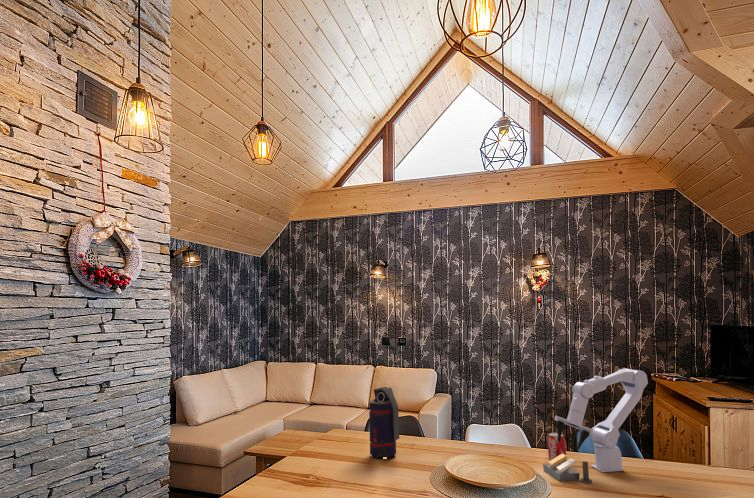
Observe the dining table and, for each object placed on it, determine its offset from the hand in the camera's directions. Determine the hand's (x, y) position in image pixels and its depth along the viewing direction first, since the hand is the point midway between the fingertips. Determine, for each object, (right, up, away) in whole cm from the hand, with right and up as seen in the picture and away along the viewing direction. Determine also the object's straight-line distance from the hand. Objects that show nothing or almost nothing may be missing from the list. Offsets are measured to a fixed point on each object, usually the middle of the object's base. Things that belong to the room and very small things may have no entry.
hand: (568, 445), depth 195 cm
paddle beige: (-3, -5, -7) cm, 9 cm away
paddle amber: (-4, -6, -1) cm, 7 cm away
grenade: (-73, -15, +25) cm, 78 cm away
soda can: (0, -12, +10) cm, 16 cm away
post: (+3, -10, -11) cm, 15 cm away
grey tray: (-4, -11, -3) cm, 12 cm away
